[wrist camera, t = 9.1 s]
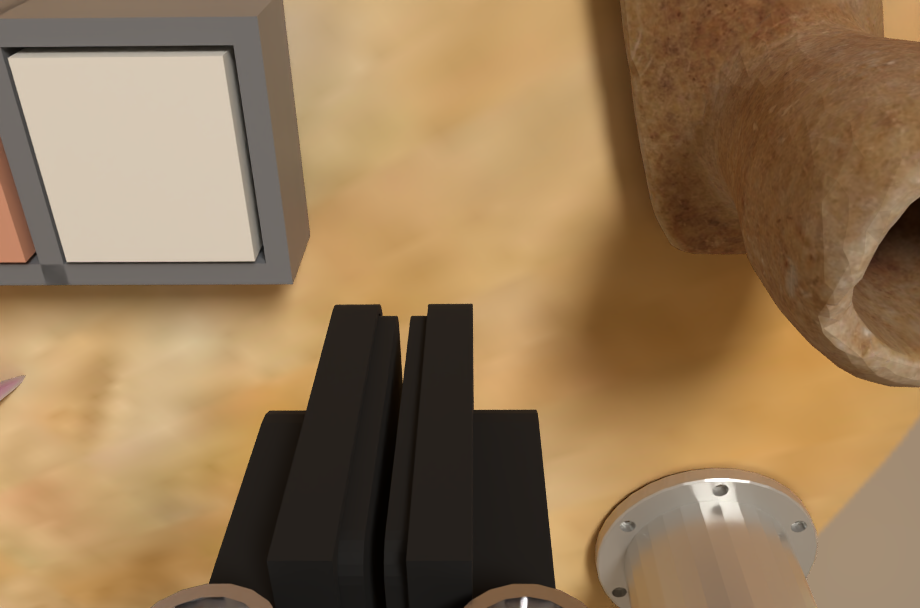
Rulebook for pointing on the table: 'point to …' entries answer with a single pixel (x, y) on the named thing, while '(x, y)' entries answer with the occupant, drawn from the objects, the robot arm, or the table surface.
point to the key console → (265, 112)
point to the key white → (142, 151)
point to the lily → (9, 385)
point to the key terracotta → (12, 218)
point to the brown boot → (791, 160)
